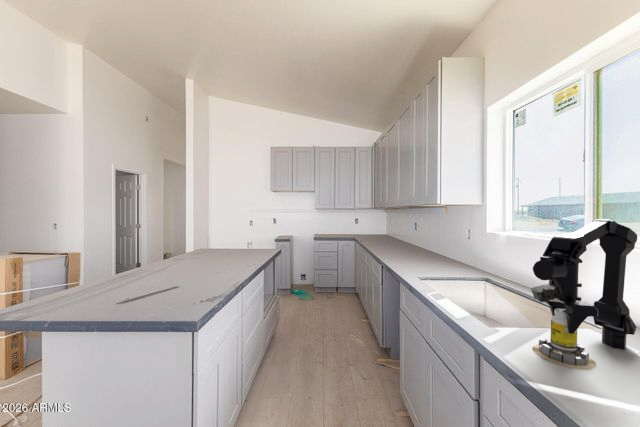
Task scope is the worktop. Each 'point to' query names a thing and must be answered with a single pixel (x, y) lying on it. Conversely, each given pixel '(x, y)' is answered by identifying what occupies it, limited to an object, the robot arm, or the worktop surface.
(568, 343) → the pill bottle
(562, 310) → the robot arm
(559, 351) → the flange plate
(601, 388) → the worktop surface
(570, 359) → the castellated collar
